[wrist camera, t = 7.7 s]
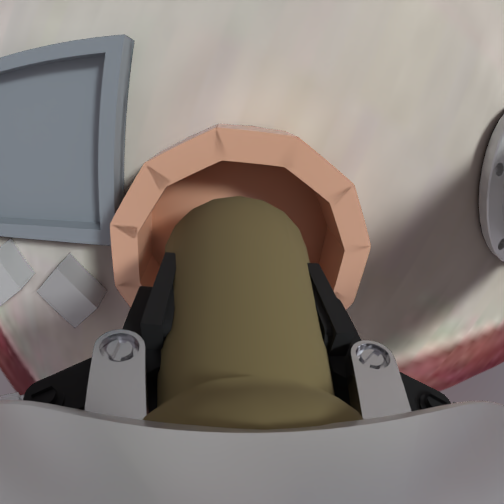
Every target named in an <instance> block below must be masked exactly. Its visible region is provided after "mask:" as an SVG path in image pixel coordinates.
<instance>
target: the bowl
mask: <svg viewBox="0 0 504 504" xmlns="http://www.w3.org/2000/svg"><path fill="white" fill-rule="evenodd" d="M234 196H242V197H248V198H253V199H258V200H263V201H265V202H267V203H269V204H271V205H272V206H274V207H276V208H278V209H280V210H281V211H283V212H285V214H286V215H287V216H288V217H289V218H290V219H291V220H292V221H293V223H294V224H295V225H296V226H297V227H298V228H299V230H300V233H301V235H302V238H303V240H304V243H305V245H306V248H307V252H308V257H309V262H310V263H318V264H319V265H320V267H321V269H322V270H323V272H324V274H325V276H326V278H327V280H328V282H329V284H330V286H331V287H332V289H333V291H334V293H335V295H336V297H337V298H338V299H340V301H341V302H342V304H343V306H344V308H345V310H347V309H348V308H349V306H350V305H351V304H352V303H353V302H354V300H355V297H356V294H357V291H358V288H359V284H360V281H361V278H362V275H363V272H364V269H365V265H366V262H367V259H368V255H369V252H370V248H371V244H370V240H369V236H368V232H367V228H366V224H365V220H364V217H363V213H362V209H361V206H360V202H359V199H358V195H357V192H356V189H355V185H354V184H353V183H352V182H351V181H350V180H349V179H348V178H346V177H345V176H344V175H343V174H342V173H341V172H340V171H338V170H337V169H336V168H335V167H334V166H333V165H331V164H330V163H329V162H328V161H327V160H326V159H324V158H323V157H322V156H321V155H320V154H318V153H317V152H316V151H315V150H314V149H312V148H311V147H310V146H309V145H307V144H306V143H305V142H304V141H303V140H301V139H300V138H299V137H297V136H295V135H293V134H290V133H288V132H286V131H281V130H274V129H266V128H261V127H255V126H244V125H230V124H217V125H215V126H212V127H210V128H208V129H206V130H204V131H202V132H199V133H197V134H195V135H192V136H190V137H188V138H186V139H185V140H183V141H181V142H179V143H177V144H175V145H173V146H171V147H169V148H167V149H165V150H163V151H161V152H159V153H158V154H157V155H155V156H154V157H152V158H151V159H149V160H148V161H147V162H145V163H144V164H143V166H142V168H141V169H140V171H139V173H138V174H137V176H136V178H135V179H134V181H133V183H132V185H131V186H130V188H129V190H128V192H127V193H126V195H125V197H124V199H123V201H122V202H121V204H120V206H119V208H118V210H117V212H116V213H115V215H114V217H113V219H112V221H111V223H110V236H111V250H112V261H113V271H114V281H115V287H116V288H117V289H118V291H119V292H120V294H121V295H122V297H123V298H124V299H125V301H126V302H127V303H128V305H129V306H130V308H131V306H132V304H133V301H134V299H135V296H136V294H137V291H138V289H139V287H140V286H148V287H153V285H154V282H155V279H156V276H157V274H158V271H159V268H160V265H161V263H162V260H163V257H164V255H165V245H166V243H167V241H168V239H169V237H170V235H171V233H172V231H173V229H174V227H175V225H176V224H177V223H178V222H179V221H180V220H181V219H182V218H183V217H184V216H185V215H186V214H187V213H189V212H190V211H191V210H192V209H194V208H196V207H198V206H200V205H202V204H204V203H206V202H209V201H211V200H213V199H218V198H226V197H234Z"/></svg>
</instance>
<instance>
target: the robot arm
mask: <svg viewBox="0 0 504 504" xmlns="http://www.w3.org/2000/svg"><path fill="white" fill-rule="evenodd" d="M479 215H480V223H481V228H482V234H483V236H484V239H485V241H486V244H487V246H488V247H489V249H490V250H491V252H492V253H493V254H494V255H496V256H497V257H498V258H499V259H500V260H501V261H503V262H504V114H503V116H502V117H501V118H500V120H499V121H498V123H497V125H496V127H495V129H494V131H493V133H492V136H491V139H490V141H489V144H488V147H487V150H486V154H485V158H484V162H483V166H482V172H481V179H480V188H479ZM307 265H308V270H309V274H310V278H311V283H312V288H313V294H314V300H315V306H316V310H317V314H318V319H319V323H320V328H321V332H322V337H323V342H324V345H325V347H326V349H327V352H328V358H329V364H330V370H331V376H332V382H333V388H334V394H335V396H336V397H338V398H339V399H341V400H342V401H344V402H345V403H346V404H348V405H349V406H351V407H352V408H354V409H355V410H357V411H358V412H359V414H360V415H361V416H362V417H363V420H356V421H348V422H339V423H331V424H327V425H322V426H313V427H302V428H289V429H271V430H258V429H236V428H222V427H209V426H200V425H185V424H174V423H164V422H155V421H147V420H143V418H144V417H145V416H146V415H147V414H149V413H150V412H152V411H153V410H154V409H156V408H157V376H158V372H159V370H160V365H161V349H162V348H163V342H164V340H165V339H166V337H167V335H168V333H169V332H170V331H171V329H172V322H173V316H174V310H175V304H174V288H173V281H174V277H175V272H176V256H175V253H170V252H165V255H164V257H163V260H162V263H161V265H160V268H159V271H158V274H157V276H156V279H155V282H154V285H153V287H148V286H140V287H139V289H138V291H137V294H136V296H135V299H134V301H133V304H132V306H131V309H130V311H129V314H128V316H127V319H126V322H125V324H124V327H123V329H120V330H112V331H109V332H106V333H105V334H103V335H101V336H100V337H99V338H98V339H97V340H96V342H95V345H94V349H93V354H92V358H89V359H87V360H85V361H83V362H80V363H78V364H76V365H74V366H71V367H69V368H67V369H65V370H62V371H60V372H58V373H56V374H53V375H51V376H49V377H47V378H44V379H42V380H40V381H37V382H36V383H34V384H32V385H31V386H30V387H29V388H28V389H27V390H26V392H25V394H24V395H21V396H20V395H19V393H18V392H16V393H11V394H6V395H2V396H0V504H504V405H502V404H498V403H494V402H487V401H467V402H459V403H456V402H453V403H452V404H451V403H450V401H449V399H448V398H447V397H446V396H445V395H444V394H442V393H441V392H439V391H437V390H435V389H433V388H431V387H429V386H427V385H425V384H423V383H421V382H419V381H417V380H415V379H413V378H411V377H409V376H407V375H405V374H403V373H401V372H399V369H398V366H397V363H396V360H395V358H394V356H393V354H392V352H391V351H390V350H389V349H388V348H387V347H386V346H384V345H382V344H380V343H378V342H375V341H370V340H362V341H361V339H360V337H359V335H358V333H357V331H356V329H355V327H354V325H353V323H352V321H351V319H350V317H349V315H348V314H347V312H346V310H345V308H344V306H343V304H342V302H341V301H340V299H338V298H337V297H336V295H335V293H334V291H333V289H332V287H331V286H330V284H329V282H328V280H327V278H326V276H325V274H324V272H323V270H322V269H321V267H320V265H319V264H318V263H307Z"/></svg>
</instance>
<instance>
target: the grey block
mask: <svg viewBox="0 0 504 504" xmlns="http://www.w3.org/2000/svg"><path fill="white" fill-rule="evenodd" d="M106 291H107V290H106V289H105V288H104V287H103V286H102V285H101V284H100V283H99V282H98V281H97V280H96V279H95V278H94V277H93V276H92V275H91V274H90V273H89V272H88V271H87V270H86V269H85V268H84V267H83V266H82V265H81V264H80V263H79V262H78V261H77V260H76V259H75V258H74V256H73V255H72V254H71V253H69V254H68V255H67V256H66V258H65V259H64V260H63V261H62V262H61V263H60V264H59V266H58V267H57V268H56V269H55V270H54V271H53V273H52V274H51V275H50V276H49V277H48V278H47V280H46V281H45V282H44V283H43V285H42V286H41V287H40V288H39V289H38V291H37V293H38V294H39V295H40V296H41V297H42V298H43V299H44V300H45V301H46V302H47V303H48V304H49V305H50V306H52V307H53V308H54V309H55V310H56V311H57V312H58V313H59V314H60V315H61V316H62V317H63V318H64V319H65V320H66V321H67V322H68V323H70V324H71V325H72V326H73V327H74V328H76V327H77V326H78V325H79V324H80V323H81V322H82V321H83V320H85V319H86V318H87V317H88V316H89V315H90V314H91V313H93V312H94V311H95V310H96V309H97V308H98V306H99V304H100V302H101V301H102V299H103V297H104V295H105V293H106Z"/></svg>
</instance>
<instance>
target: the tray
mask: <svg viewBox="0 0 504 504" xmlns="http://www.w3.org/2000/svg"><path fill="white" fill-rule="evenodd" d="M133 47H134V40H133V39H131V38H130V37H128V36H126V35H114V36H104V37H95V38H88V39H81V40H74V41H68V42H63V43H58V44H52V45H48V46H43V47H39V48H34V49H30V50H26V51H22V52H18V53H15V54H11V55H8V56H4V57H1V58H0V236H4V237H15V238H26V239H38V240H49V241H61V242H72V243H84V244H96V245H108V246H111V236H110V223H111V221H112V219H113V217H114V215H115V213H116V212H117V210H118V208H119V206H120V204H121V202H122V201H123V199H124V151H125V128H126V113H127V100H128V89H129V79H130V70H131V62H132V54H133Z"/></svg>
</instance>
